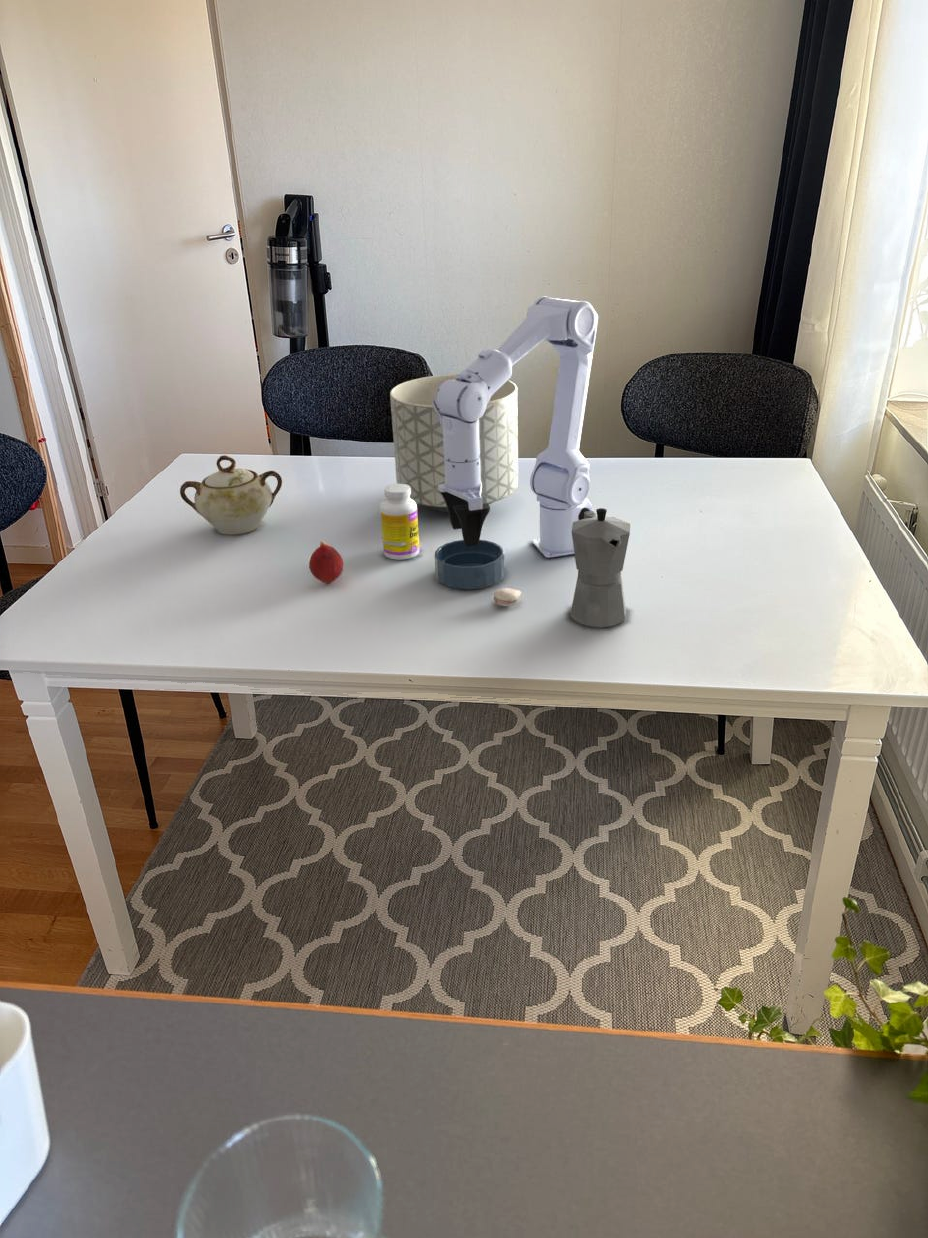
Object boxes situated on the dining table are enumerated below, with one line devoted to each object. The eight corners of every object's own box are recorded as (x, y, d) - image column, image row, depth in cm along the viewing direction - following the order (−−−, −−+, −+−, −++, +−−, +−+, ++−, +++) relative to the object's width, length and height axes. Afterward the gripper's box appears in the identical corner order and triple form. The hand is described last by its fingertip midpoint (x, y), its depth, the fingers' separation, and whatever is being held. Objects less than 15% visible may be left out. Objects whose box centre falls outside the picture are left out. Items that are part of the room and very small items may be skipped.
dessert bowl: (492, 558, 171) (491, 535, 169) (514, 585, 161) (513, 561, 159) (428, 568, 169) (427, 545, 166) (446, 596, 158) (445, 571, 156)
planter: (543, 503, 195) (543, 387, 184) (450, 536, 181) (444, 413, 170) (465, 475, 212) (461, 367, 201) (374, 503, 198) (364, 390, 187)
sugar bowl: (185, 547, 181) (171, 472, 174) (189, 519, 194) (176, 448, 187) (289, 535, 185) (279, 461, 178) (285, 508, 198) (276, 439, 191)
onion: (350, 578, 166) (346, 536, 162) (336, 592, 161) (331, 549, 157) (321, 575, 168) (316, 533, 164) (305, 588, 163) (300, 546, 159)
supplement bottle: (414, 562, 171) (410, 495, 165) (379, 560, 172) (374, 493, 166) (423, 547, 177) (419, 482, 171) (389, 545, 178) (384, 480, 172)
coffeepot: (641, 629, 145) (648, 520, 137) (583, 638, 144) (586, 528, 135) (606, 587, 159) (610, 486, 150) (552, 595, 157) (553, 492, 149)
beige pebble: (488, 602, 156) (488, 589, 154) (512, 593, 158) (512, 580, 157) (505, 611, 152) (504, 597, 151) (528, 602, 155) (528, 589, 154)
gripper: (426, 447, 155) (431, 524, 161) (449, 474, 143) (453, 556, 149) (467, 442, 157) (470, 518, 163) (494, 468, 144) (496, 550, 150)
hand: (465, 536), depth 156 cm, fingers open, 7 cm apart
